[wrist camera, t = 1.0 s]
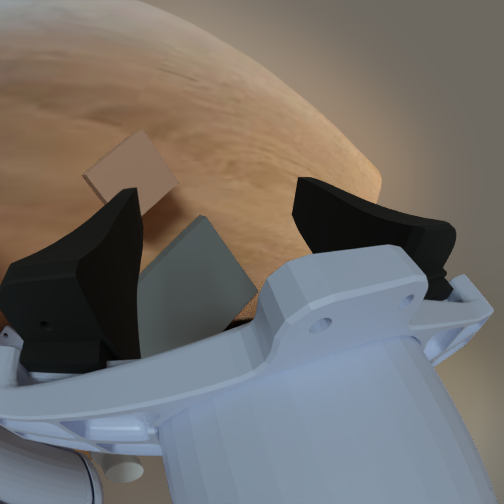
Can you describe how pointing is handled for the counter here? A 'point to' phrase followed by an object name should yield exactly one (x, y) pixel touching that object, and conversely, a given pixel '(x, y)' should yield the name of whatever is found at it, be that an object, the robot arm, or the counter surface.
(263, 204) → the counter surface
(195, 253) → the slate board
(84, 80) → the counter surface
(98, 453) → the supplement bottle
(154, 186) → the terracotta cube
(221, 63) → the counter surface
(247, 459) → the robot arm
